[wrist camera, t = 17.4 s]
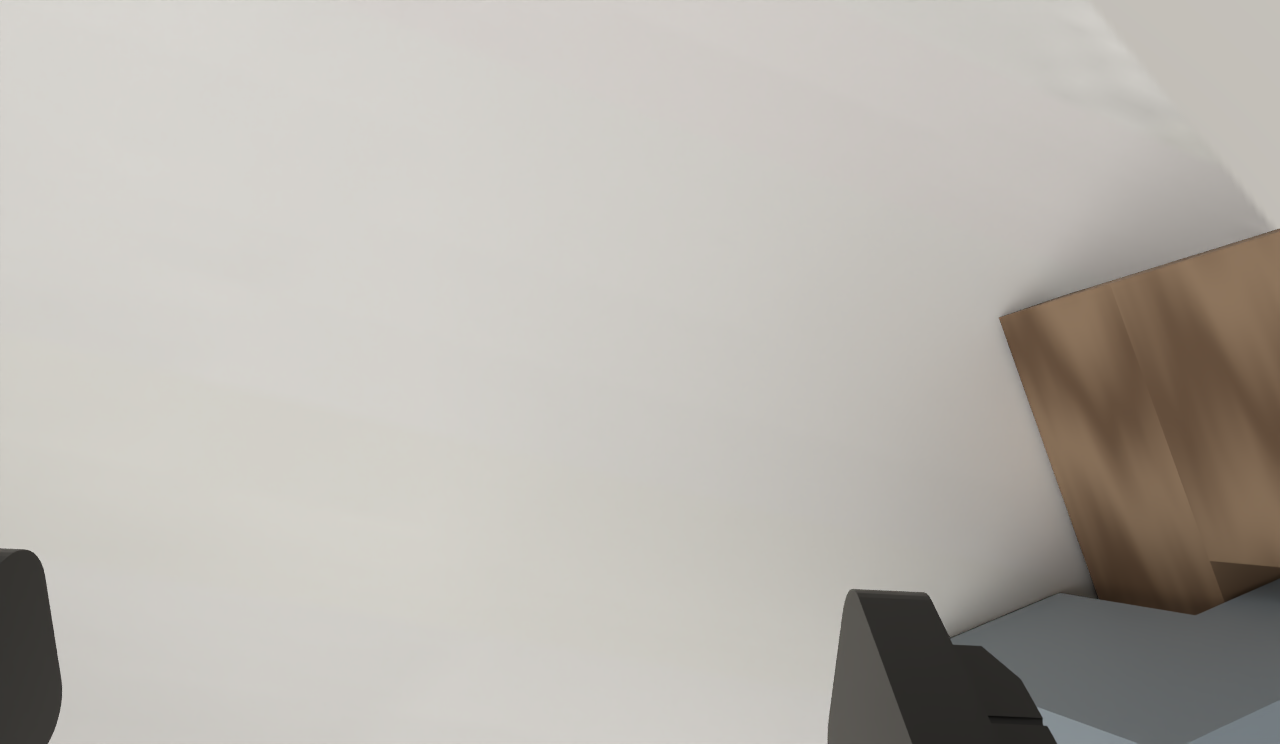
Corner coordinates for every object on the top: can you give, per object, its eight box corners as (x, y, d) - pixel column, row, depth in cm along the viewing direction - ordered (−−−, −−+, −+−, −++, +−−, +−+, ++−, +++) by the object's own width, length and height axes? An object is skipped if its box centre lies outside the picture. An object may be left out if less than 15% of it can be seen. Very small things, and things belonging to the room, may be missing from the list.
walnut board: (999, 317, 34) (1289, 228, 23) (1060, 296, 35) (1375, 198, 23) (1207, 905, 34) (1621, 1128, 22) (1267, 875, 34) (1703, 1077, 22)
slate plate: (902, 658, 32) (1165, 753, 21) (1308, 489, 36) (1729, 488, 24) (924, 720, 32) (1200, 849, 21) (1328, 544, 36) (1761, 570, 24)
